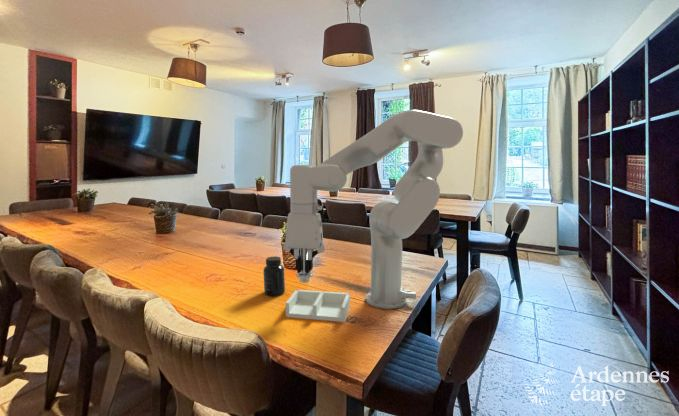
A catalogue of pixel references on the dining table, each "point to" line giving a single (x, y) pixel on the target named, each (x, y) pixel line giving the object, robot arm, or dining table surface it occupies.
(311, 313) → the rack
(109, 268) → the dining table surface
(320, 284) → the dining table surface
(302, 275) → the screw
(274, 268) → the supplement bottle
